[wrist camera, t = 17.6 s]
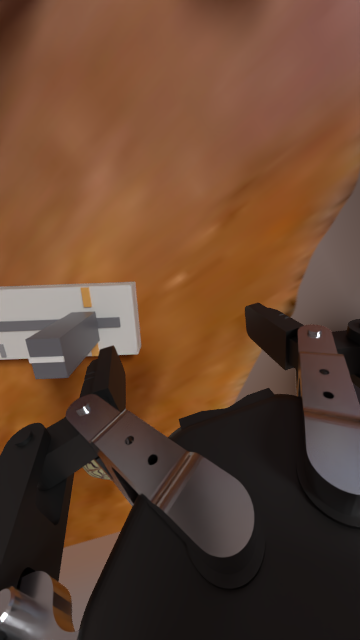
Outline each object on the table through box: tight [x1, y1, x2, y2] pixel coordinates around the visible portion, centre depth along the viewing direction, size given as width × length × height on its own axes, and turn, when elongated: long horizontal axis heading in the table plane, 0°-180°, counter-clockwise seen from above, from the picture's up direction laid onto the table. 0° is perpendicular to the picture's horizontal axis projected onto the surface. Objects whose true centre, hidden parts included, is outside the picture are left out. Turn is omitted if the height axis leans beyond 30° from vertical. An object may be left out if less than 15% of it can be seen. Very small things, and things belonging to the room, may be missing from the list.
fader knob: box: [25, 311, 100, 379], centre depth 24 cm, size 3×4×10 cm
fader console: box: [0, 282, 141, 360], centre depth 31 cm, size 24×10×3 cm, turn 92°
